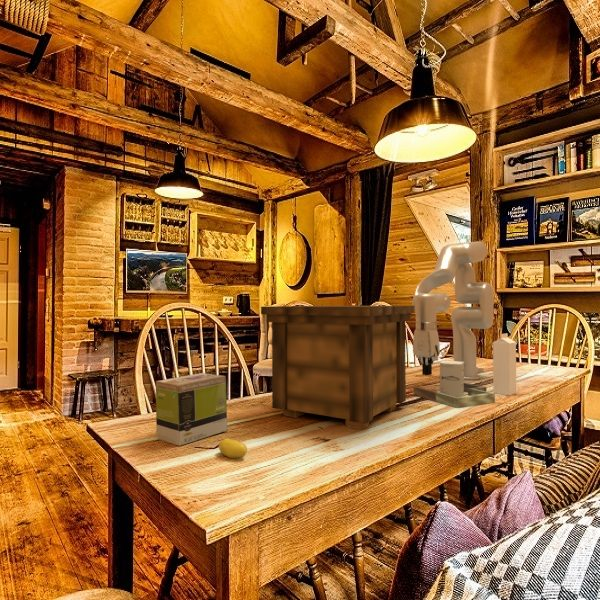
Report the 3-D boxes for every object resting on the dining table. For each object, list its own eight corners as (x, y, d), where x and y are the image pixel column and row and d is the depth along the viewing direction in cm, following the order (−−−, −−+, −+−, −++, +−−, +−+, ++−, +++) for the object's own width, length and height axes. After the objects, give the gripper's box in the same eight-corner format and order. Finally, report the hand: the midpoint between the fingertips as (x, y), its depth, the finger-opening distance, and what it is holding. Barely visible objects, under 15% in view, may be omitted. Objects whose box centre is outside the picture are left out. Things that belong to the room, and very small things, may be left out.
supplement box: (439, 398, 147) (438, 362, 147) (442, 394, 153) (442, 359, 153) (461, 400, 143) (461, 363, 143) (464, 396, 150) (464, 361, 150)
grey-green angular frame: (460, 389, 162) (460, 381, 162) (507, 400, 143) (507, 391, 143) (413, 395, 152) (413, 387, 152) (457, 407, 133) (457, 398, 133)
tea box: (203, 425, 116) (203, 371, 116) (228, 432, 110) (227, 375, 110) (154, 438, 104) (154, 379, 104) (178, 447, 98) (178, 384, 98)
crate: (261, 416, 124) (261, 306, 125) (321, 394, 154) (320, 305, 154) (370, 436, 105) (369, 306, 105) (415, 407, 134) (414, 305, 135)
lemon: (228, 450, 96) (228, 433, 96) (251, 458, 91) (251, 440, 91) (213, 454, 93) (213, 437, 93) (236, 464, 88) (236, 445, 88)
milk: (516, 393, 155) (516, 333, 155) (509, 395, 151) (510, 334, 151) (499, 390, 159) (499, 332, 159) (492, 393, 155) (492, 333, 155)
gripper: (405, 325, 164) (406, 372, 164) (432, 328, 150) (433, 379, 151) (420, 324, 167) (421, 370, 167) (448, 327, 153) (449, 377, 154)
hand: (427, 374), depth 159 cm, fingers closed
